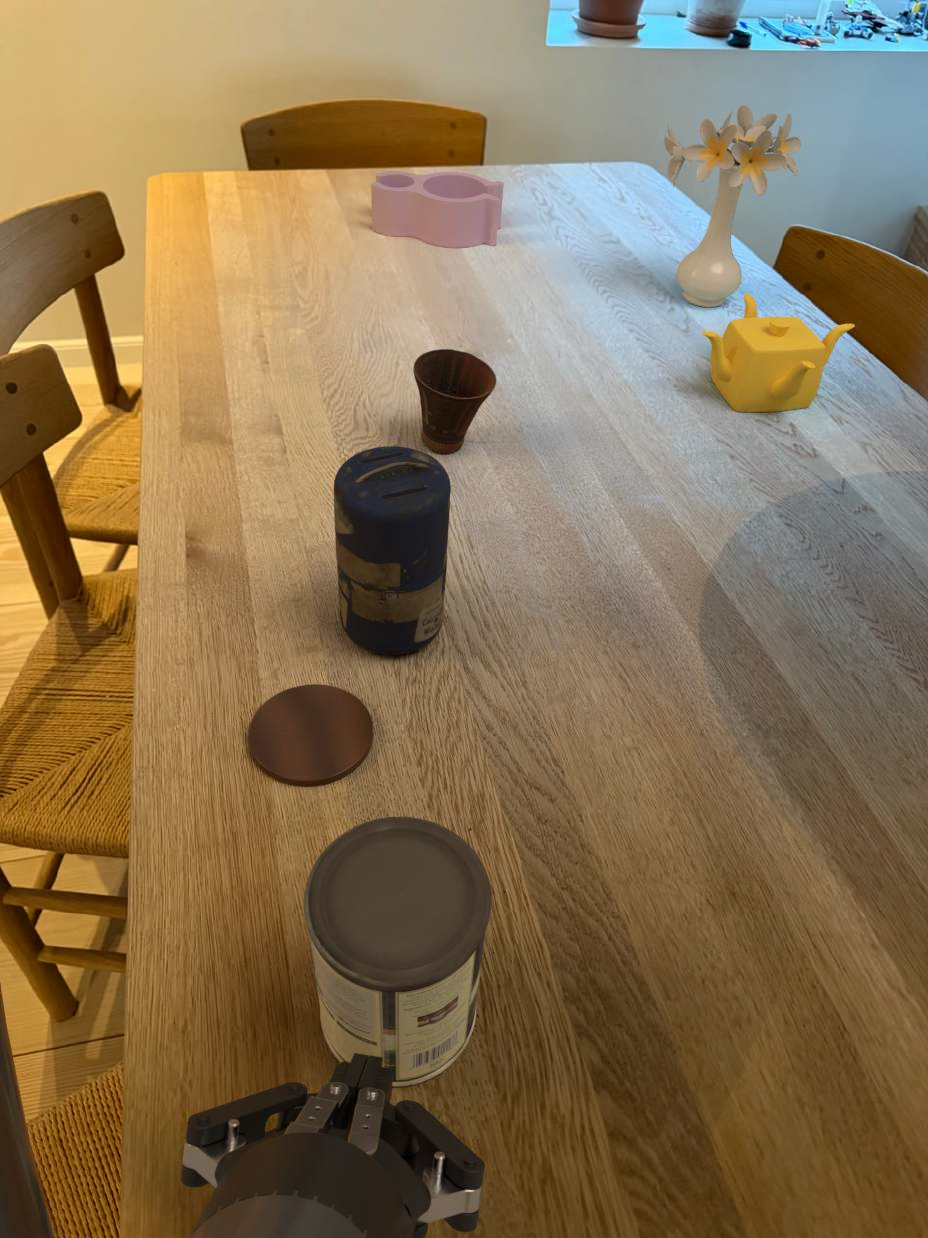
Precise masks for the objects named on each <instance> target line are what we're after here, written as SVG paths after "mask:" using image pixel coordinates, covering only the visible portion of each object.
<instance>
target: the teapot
mask: <svg viewBox="0 0 928 1238" xmlns="http://www.w3.org/2000/svg"><path fill="white" fill-rule="evenodd" d="M743 300H744V314H743V318H737V319H732V320H730V321H729V322H728V324H727V326H726V328H725V331H724V332H723V334H722V336H721V335H720V334H719V333H718V332H716V331H712V330H701V331H700V334H702V336H705V337H706V338H707V339H708V340H709V342H710V346H711V347H710V359H709V360H710V361H709V362H710V368H711V372H710V373H711V374H710V375H711V380H712V383H713V384H714V386H715V387H716V388H717V390H718V392H719V393H720V394H721V396H722V397H723V398H724V399H725V401H726V402H727V403H728V405H729V406H730V407H731V408H732V410H734V411H735V412H737V413H775V412H786V411H792V410H793V411H795V410H801V409H805V408H809V407H810V406H811V405H812V403H813V401H814V400H815V398H816V396H817V393H818V391H819V387H820V384H821V381H822V380H821V379H822V376H823V372H824V371H823V370H824V367H825V366H826V365H827V363H828V361H829V359H830V357H831V354H832V352H833V350H834V348H835V346H836V344H837V342H838V341H839V339H840V338H841V337H842V336H843V335H844V334H845V333H847V332H849V331H850V330H851V329H854V328H855V327H856V326H855V324H854V323H843V324H839V325H836V326H834V327H833V328H832V329H831V330H829V331H828V333H827V334H826V335H825V336H824V337H823V338H822V340H821V339H820V338H819V337H818V336H817V334H816V333H815V332H814V331H813V330H812V329H811V328H810V327H809V326H808V325H807V324H806V323H805V322H804V321H803V320H802V319H801V318H799V317H798V316H758V307H757V302H756V300H755V298H754V296H752V295H751V294H750V293H743Z"/></svg>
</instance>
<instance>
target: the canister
mask: <svg viewBox="0 0 928 1238" xmlns="http://www.w3.org/2000/svg"><path fill="white" fill-rule="evenodd" d="M451 493H452V485H451V479H450V477H449V473H448V472H447V470H446V468H445V467H444V465H443V464H442V463H441V462H439V461H438V460H437V459H436V458H435V457H433V456H431V454H428V453H426V452H424V451H422V450H418V449H415V448H411V447H407V446H400V445H398V446H397V445H389V446H376V447H372V448H368V449H365V450H361V451H360V452H357V453H356V454H353V455H352V456H350V457H349V458H348V459H346V460H345V461H344V462H343V463H342V464H341V466H340V467H339V469H338V470H337V472H336V474H335V477H334V481H333V510H334V511H333V514H334V515H333V517H334V534H335V556H336V570H337V588H338V589H337V590H338V591H337V592H338V609H339V610H338V611H339V620H340V624H341V627H342V630H343V631H344V633H345V634H346V636H347V637H348V638H349V640H351V641H352V642H353V643H354V644H356V645H357V646H359V647H360V648H362V649H364V650H366V651H369V652H372V653H375V654H379V655H387V656H388V655H389V656H396V655H397V656H399V655H406V654H410V653H413V652H416V651H418V650H421V649H423V648H425V647H426V646H427V645H428V644H430V643H432V641H433V640H434V639H435V638H436V637H437V636H438V635H439V632H440V631H441V628H442V626H443V622H444V615H445V614H444V613H445V612H444V611H445V610H444V603H445V594H446V579H447V567H448V546H449V527H450V509H451Z"/></svg>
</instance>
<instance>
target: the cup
mask: <svg viewBox="0 0 928 1238" xmlns="http://www.w3.org/2000/svg"><path fill="white" fill-rule="evenodd" d="M412 369H413V376H414V380H415V383H416V386H417V389H418V395H419V401H420V402H419V403H420V410H421V411H420V412H421V434H420V438H421V442H422V443H423V445H424V446H425V447H426V448H427V449H428V450H430V451H432V452H435V453H439V454H443V455H445V454H454V453H456V452H458V451H460V450H461V449H462V448H463V445H464V442H465V441H464V440H465V437H466V435H467V433H468V430H469V428H470V427H471V424H472V423H473V420H474V418H475V417H476V415H477V413H478V411H479V409H480V408H481V406H482V405H483V403H484V402H485V401H486V400H487V399H488V398H489V396H490V395H492V393H493V391H494V389H495V388H496V385H497V377H496V376H497V375H496V373H495V371H494V370H493V369H492V367H491V366H490V365H489V364H488V363H487V362H485V361H484V360H482V359H480V358H479V357H477V356H476V355H474V354H472V353H470V352H466V351H462V350H457V349H452V348H439V349H433V350H429V351H426V352H423V353H422V354H421V355H419V356H418V357H416V359H415V361H414V363H413V367H412Z"/></svg>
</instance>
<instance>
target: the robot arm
mask: <svg viewBox="0 0 928 1238" xmlns="http://www.w3.org/2000/svg"><path fill="white" fill-rule="evenodd" d="M6 1017H7V1016H6V1011H5V1005H4V998H3V992H2V986H1V983H0V1238H55V1234H54V1231H53V1227H52V1222H51V1219H50V1215H49V1211H48V1207H47V1202H46V1199H45V1195H44V1190H43V1187H42V1182H41V1179H40V1174H39V1170H38V1167H37V1163H36V1158H35V1155H34V1152H33V1151H34V1150H33V1147H32V1144H31V1143H32V1142H31V1139H30V1135H29V1130H28V1125H27V1120H26V1115H25V1109H24V1104H23V1100H22V1095H21V1091H20V1087H19V1086H20V1085H19V1080H18V1075H17V1070H16V1065H15V1059H14V1055H13V1050H12V1046H11V1039H10V1034H9V1030H8V1024H7V1020H6V1019H7V1018H6ZM382 1065H383V1057H378V1056H371V1055H369V1057H368V1055H364V1054H358V1053H354V1055H353V1058H352V1060H351V1063H350V1062H344V1061H343V1062H341V1063H340V1062H339V1063H338V1064H337V1065H336V1066H335V1069H334V1070H333V1073H332V1075H331V1078H330V1080H329V1081H328V1082H326V1083H324V1084H323V1085H322V1087H321V1088H320V1090H319V1092H309V1093H308V1091H309V1088H308V1086H307V1085H306V1084H304V1083H301V1082H298V1081H297V1082H296V1081H290V1082H285V1083H283V1084H280V1085H277V1086H273V1087H271V1088H268V1089H264V1090H262V1091H259V1092H257V1093H253V1094H250V1095H247V1096H244V1097H241V1098H239V1099H236V1100H232V1101H229V1102H226V1103H224V1104H221V1105H218V1106H215V1107H212V1108H209V1109H205V1110H203V1111H200V1112H197V1113H194V1114H192V1115H190V1116H189V1117H188V1119H187V1125H186V1132H185V1134H186V1135H185V1137H184V1142H183V1152H182V1159H181V1163H182V1164H181V1172H180V1182H181V1184H183V1186H185V1187H189V1188H201V1187H203V1186H206V1185H209V1184H210V1185H211V1186H213V1187H214V1188H215V1189H214V1191H213V1193H212V1194H211V1196H210V1197H209V1200H208V1202H207V1203H206V1205H205V1207H204V1209H203V1210H202V1212H201V1213H200V1216H199V1217H198V1219H197V1220H196V1223H195V1225H194V1226H193V1228H192V1231H191V1232H190V1233H189V1235H188V1237H187V1238H426V1237H427V1234H428V1231H429V1223H433V1222H436V1221H440V1220H444V1221H445V1222H446V1223H447V1225H449V1226H450V1228H452V1229H453V1230H455V1231H457V1232H461V1233H469V1232H473V1231H475V1230H476V1229H477V1228H478V1224H479V1215H480V1206H481V1200H482V1191H483V1184H484V1176H485V1175H484V1174H485V1168H486V1167H485V1165H486V1164H485V1162H484V1160H483V1159H481V1157H479V1156H478V1155H477V1154H476V1153H475V1151H473V1150H472V1149H471V1148H470V1147H468V1146H467V1144H466V1143H464V1142H463V1141H462V1140H461V1139H459V1137H457V1136H456V1135H455V1134H454V1133H453V1132H452V1131H451V1130H450V1129H449V1128H447V1127H446V1126H445V1125H444V1124H443V1123H442V1122H441V1121H440V1120H438V1118H436V1117H435V1116H434V1115H433V1114H432V1113H431V1112H430V1111H429V1110H428V1109H427V1108H426V1107H425V1106H423V1104H421V1103H419V1102H418V1101H415V1100H411V1099H404V1100H400V1101H398V1102H397V1103H396V1104H392V1103H391V1100H392V1099H391V1098H392V1092H393V1086H392V1084H393V1076H394V1073H393V1071H392V1069H390V1068H383V1067H382ZM276 1114H277V1122H276V1127H275V1128H273V1129H270V1130H267V1131H266V1126H267V1122H268V1120H269V1118H270V1117H271V1116H273V1115H276Z"/></svg>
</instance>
